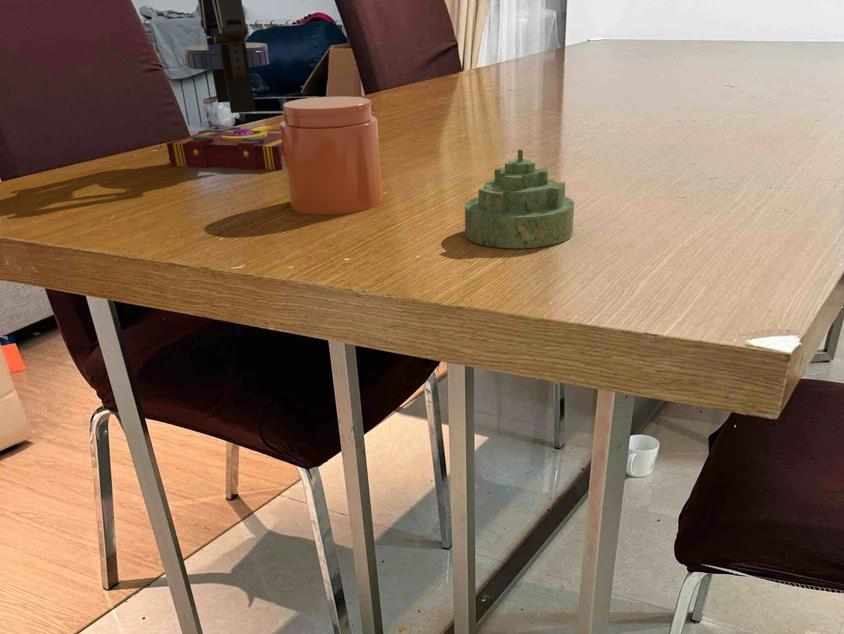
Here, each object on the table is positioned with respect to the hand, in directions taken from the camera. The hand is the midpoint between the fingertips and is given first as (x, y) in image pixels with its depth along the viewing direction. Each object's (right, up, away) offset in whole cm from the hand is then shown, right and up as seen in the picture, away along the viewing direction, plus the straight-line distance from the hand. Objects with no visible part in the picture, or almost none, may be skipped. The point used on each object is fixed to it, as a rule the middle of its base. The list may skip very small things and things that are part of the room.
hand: (235, 106), depth 99 cm
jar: (+14, -21, -15) cm, 29 cm away
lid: (0, +4, -3) cm, 5 cm away
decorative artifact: (+32, -24, -20) cm, 44 cm away
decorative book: (0, -6, +5) cm, 8 cm away
